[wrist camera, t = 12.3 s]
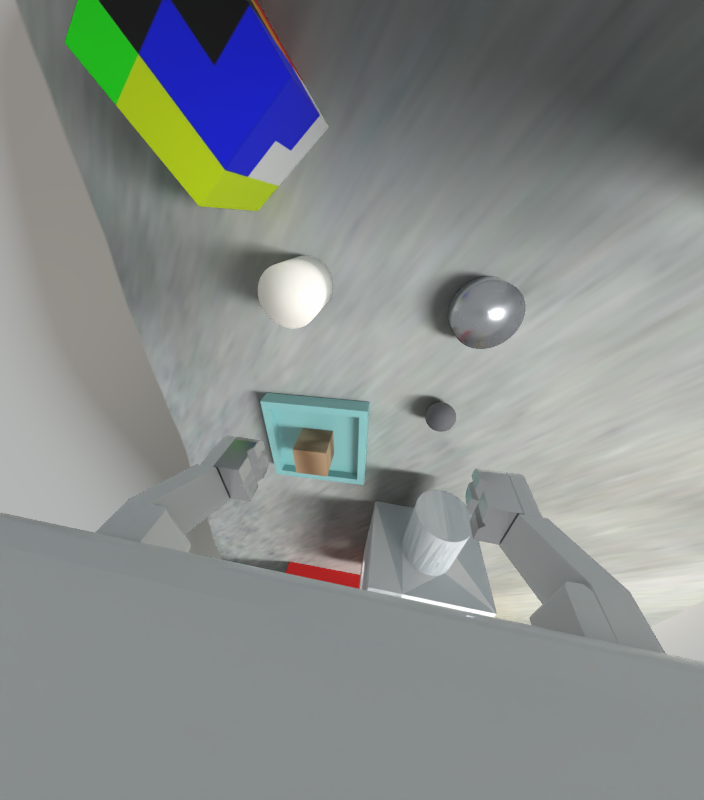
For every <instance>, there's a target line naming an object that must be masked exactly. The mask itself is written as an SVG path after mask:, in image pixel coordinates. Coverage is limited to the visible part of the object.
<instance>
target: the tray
mask: <svg viewBox="0 0 704 800" xmlns="http://www.w3.org/2000/svg"><path fill="white" fill-rule="evenodd" d="M260 403H261V407H262V412H263V416H264V421H265V425H266V430H267V434H268V438H269V443H270V447H271V452H272V456H273V461H274V465H275V470H276V474H281V475H289V476H297V477H304V478H312V479H320V480H328V481H335V482H343V483H351V484H359V485H364V480H365V471H366V453H367V436H368V419H369V402H362V401H352V400H341V399H330V398H319V397H308V396H297V395H286V394H276V393H266V394H265V396H264V397H263V398H262V400H261V401H260ZM302 428H311V429H320V430H330V431H333V439H334V455H333V459H332V462H331V466H330V469H329V473H328V477H327V476H319V475H311V474H303V473H296V468H295V462H294V456H293V447H294V445H295V443H296V441H297V439H298V437H299V435H300V433H301V430H302Z"/></svg>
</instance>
